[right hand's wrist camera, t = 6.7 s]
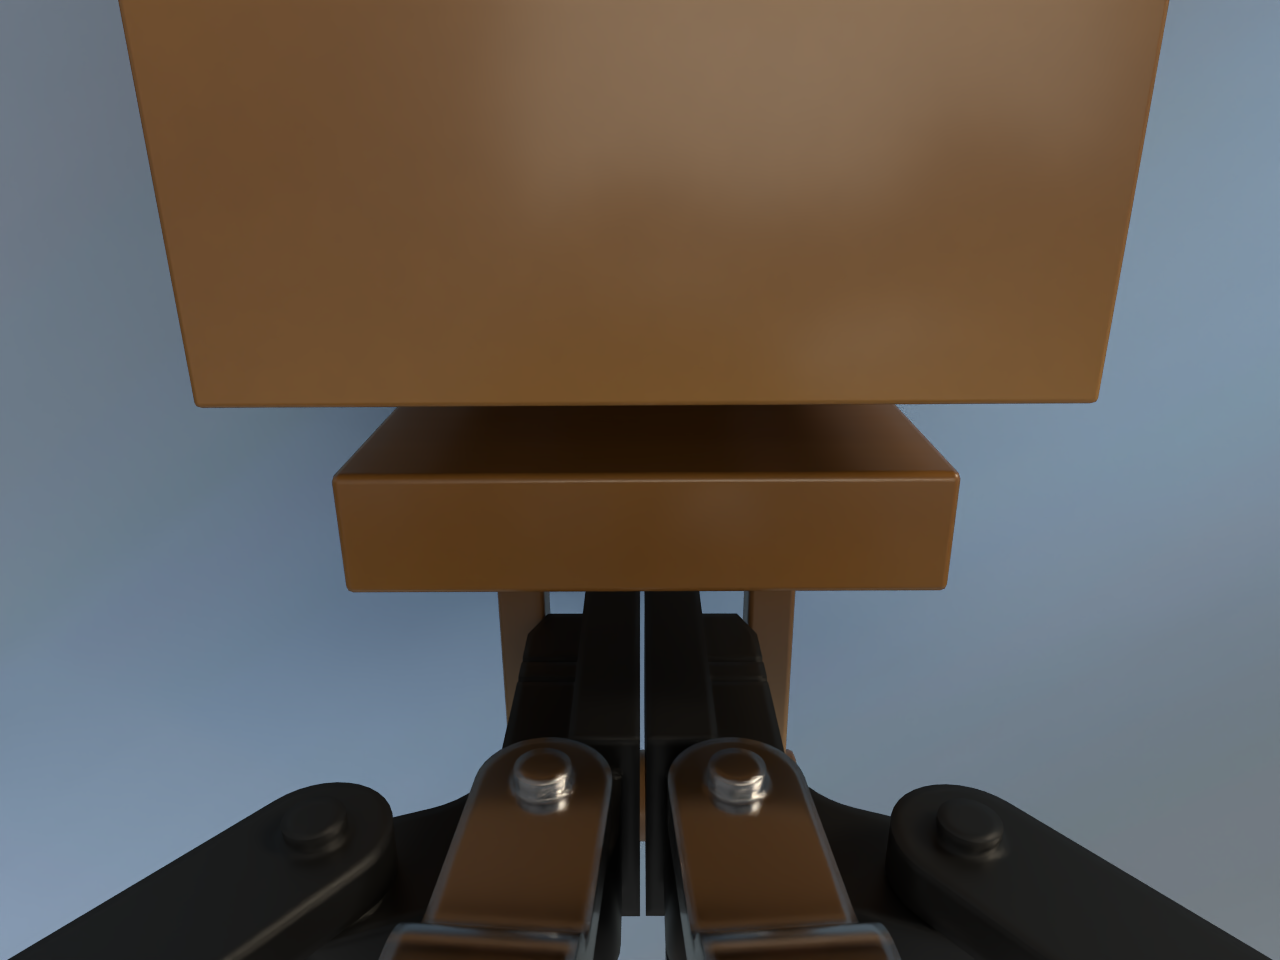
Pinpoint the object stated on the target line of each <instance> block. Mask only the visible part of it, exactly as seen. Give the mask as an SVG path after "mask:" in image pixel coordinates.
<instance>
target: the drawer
mask: <svg viewBox="0 0 1280 960" xmlns="http://www.w3.org/2000/svg"><path fill="white" fill-rule="evenodd" d="M959 485H960V476H959V473H958V472H957V471H956V470H955V469H954V468H953V466H952V465H951V464H950V463H949V462H948V461H947V460H946V459H945V458H944V457H943V456H942V455H941V454H940V453H939V451H938V450H937V449H936V448H935V447H934V446H933V445H932V444H931V443H930V442H929V441H928V440H927V439H926V437H925V436H924V435H923V434H922V433H921V432H920V431H919V430H918V429H917V428H916V427H915V426H914V425H913V424H912V422H911V421H910V420H909V419H908V418H907V417H906V416H905V415H904V414H903V413H902V412H901V411H900V410H899V409H898V407H897V406H896V405H895V404H836V405H648V406H460V407H397V408H396V409H395V410H394V411H393V412H392V413H391V414H390V415H389V416H388V418H387V419H386V420H385V421H384V422H383V423H382V424H381V425H380V426H379V427H378V428H377V429H376V431H375V432H374V433H373V434H372V435H371V436H370V437H369V438H368V439H367V440H366V441H365V442H364V444H363V445H362V446H361V447H360V448H359V449H358V450H357V451H356V452H355V453H354V454H353V455H352V457H351V458H350V459H349V460H348V461H347V462H346V463H345V464H344V465H343V466H342V467H341V468H340V470H339V471H338V472H337V473H336V474H335V475H334V477H333V480H332V486H333V493H334V500H335V508H336V515H337V522H338V529H339V537H340V544H341V551H342V558H343V566H344V573H345V580H346V586H347V588H348V590H349V591H351V592H498V604H499V618H500V632H501V646H502V660H503V674H504V688H505V702H506V716H507V725H508V720H509V716H510V711H511V707H512V703H513V698H514V694H515V689H516V685H517V682H518V676H519V671H520V667H521V662H523V653H524V649H525V644H526V640H527V636H528V633H529V632H530V631H531V630H532V629H533V628H534V627H535V626H536V625H537V624H538V623H539V622H540V621H541V620H542V619H543V618H544V617H545V616H546V615H547V614H550V598H549V592H556V591H744V606H743V620H744V621H745V622H746V623H747V624H748V625H749V626H750V627H751V628H752V629H753V630H754V631H755V632H756V633H757V636H758V640H759V645H760V649H761V653H762V661H763V662H764V666H765V670H766V675H767V682H768V683H769V687H770V692H771V696H772V700H773V705H774V709H775V713H776V717H777V722H778V726H779V730H780V735H781V739H782V743H783V747H784V752H785V754H786V755H788V756H789V757H790V758H791V759H792V760H793V761H794V762H795V763H796V759H795V757H794V754H793V752H792V751H791V750H788V749H786V737H787V721H788V704H789V688H790V671H791V655H792V638H793V621H794V605H795V591H834V590H942V589H945V587H946V585H947V580H948V572H949V564H950V556H951V548H952V540H953V533H954V525H955V517H956V509H957V501H958V493H959ZM796 764H797V763H796ZM640 841H645V750H640Z"/></svg>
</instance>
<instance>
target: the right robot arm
mask: <svg viewBox="0 0 1280 960" xmlns="http://www.w3.org/2000/svg"><path fill="white" fill-rule="evenodd" d="M644 726H645V857H646V916H665V943H666V951H665V960H1272V959H1270V958H1269V957H1267V956H1265V955H1264V954H1262V953H1260V952H1258V951H1257V950H1255V949H1253V948H1252V947H1250V946H1248V945H1247V944H1245V943H1243V942H1242V941H1240V940H1238V939H1237V938H1235V937H1233V936H1232V935H1230V934H1228V933H1227V932H1225V931H1223V930H1222V929H1220V928H1218V927H1217V926H1215V925H1213V924H1211V923H1210V922H1208V921H1206V920H1205V919H1203V918H1201V917H1200V916H1198V915H1196V914H1195V913H1193V912H1191V911H1190V910H1188V909H1186V908H1185V907H1183V906H1181V905H1180V904H1178V903H1176V902H1175V901H1173V900H1171V899H1170V898H1168V897H1166V896H1164V895H1163V894H1161V893H1159V892H1158V891H1156V890H1154V889H1153V888H1151V887H1149V886H1148V885H1146V884H1144V883H1143V882H1141V881H1139V880H1138V879H1136V878H1134V877H1133V876H1131V875H1129V874H1128V873H1126V872H1124V871H1123V870H1121V869H1119V868H1117V867H1116V866H1114V865H1112V864H1111V863H1109V862H1107V861H1106V860H1104V859H1102V858H1101V857H1099V856H1097V855H1096V854H1094V853H1092V852H1091V851H1089V850H1087V849H1086V848H1084V847H1082V846H1081V845H1079V844H1077V843H1076V842H1074V841H1072V840H1070V839H1069V838H1067V837H1065V836H1064V835H1062V834H1060V833H1059V832H1057V831H1055V830H1054V829H1052V828H1050V827H1049V826H1047V825H1045V824H1044V823H1042V822H1040V821H1039V820H1037V819H1035V818H1034V817H1032V816H1030V815H1029V814H1027V813H1025V812H1023V811H1022V810H1020V809H1018V808H1017V807H1015V806H1013V805H1012V804H1010V803H1008V802H1006V801H1005V800H1003V799H1001V798H999V797H997V796H994V795H992V794H989V793H987V792H985V791H981V790H978V789H974V788H970V787H965V786H960V785H948V784H943V785H930V786H925V787H921V788H918V789H915V790H913V791H911V792H909V793H907V794H905V795H904V796H903V797H902V798H901V799H900V800H899V801H898V802H897V803H896V805H895V806H894V808H893V811H892V814H891V816H887V815H883V814H878V813H874V812H870V811H866V810H861V809H857V808H853V807H850V806H846V805H843V804H840V803H838V802H835V801H833V800H830V799H828V798H826V797H824V796H822V795H820V794H818V793H817V792H815V791H814V790H812V789H811V788H810V787H808V785H807V782H806V780H805V777H804V775H803V773H802V771H801V769H800V768H799V766H798V765H797V764H796V763H795V762H794V761H793V760H792V759H791V758H790V757H789V756H788V755H786V754H785V752H784V747H783V743H782V739H781V735H780V730H779V726H778V722H777V717H776V713H775V709H774V705H773V700H772V696H771V692H770V687H769V683H768V682H767V675H766V670H765V666H764V662H763V661H762V653H761V649H760V645H759V640H758V636H757V633H756V632H755V631H754V630H753V629H752V628H751V627H750V626H749V625H748V624H747V623H746V622H745V621H744V620H743V619H742V618H741V617H740V616H739V615H738V614H702V609H701V602H700V594H699V591H645V622H644ZM621 916H640V591H586V592H585V601H584V609H583V614H547V615H546V616H545V617H544V618H543V619H542V620H541V621H540V622H539V623H538V624H537V625H536V626H535V627H534V628H533V629H532V630H531V631H530V632H529V633H528V636H527V640H526V644H525V649H524V653H523V662H521V667H520V671H519V676H518V682H517V685H516V689H515V694H514V698H513V703H512V707H511V711H510V716H509V720H508V725H507V729H506V734H505V738H504V743H503V747H502V749H501V750H500V751H498V752H497V753H495V754H494V755H492V756H491V757H490V758H489V759H488V760H487V761H486V762H485V763H484V764H483V765H482V766H481V768H480V769H479V771H478V773H477V775H476V777H475V780H474V782H473V785H472V788H471V790H470V793H468V794H467V795H465V796H463V797H461V798H459V799H457V800H455V801H452V802H450V803H447V804H445V805H441V806H438V807H434V808H431V809H427V810H422V811H418V812H414V813H410V814H405V815H401V816H397V817H393V815H392V811H391V808H390V805H389V804H388V802H387V801H386V799H385V798H384V797H383V796H382V795H380V794H379V793H378V792H376V791H374V790H373V789H371V788H368V787H365V786H362V785H359V784H353V783H341V782H335V783H323V784H318V785H313V786H309V787H306V788H302V789H299V790H296V791H294V792H291V793H289V794H286V795H285V796H283V797H281V798H279V799H277V800H275V801H273V802H272V803H270V804H268V805H267V806H265V807H263V808H262V809H260V810H258V811H257V812H255V813H253V814H252V815H250V816H248V817H246V818H245V819H243V820H241V821H240V822H238V823H236V824H235V825H233V826H231V827H230V828H228V829H226V830H225V831H223V832H221V833H220V834H218V835H216V836H215V837H213V838H211V839H210V840H208V841H206V842H204V843H203V844H201V845H199V846H198V847H196V848H194V849H193V850H191V851H189V852H188V853H186V854H184V855H183V856H181V857H179V858H178V859H176V860H174V861H173V862H171V863H169V864H168V865H166V866H164V867H163V868H161V869H159V870H157V871H156V872H154V873H152V874H151V875H149V876H147V877H146V878H144V879H142V880H141V881H139V882H137V883H136V884H134V885H132V886H131V887H129V888H127V889H126V890H124V891H122V892H121V893H119V894H117V895H116V896H114V897H112V898H110V899H109V900H107V901H105V902H104V903H102V904H100V905H99V906H97V907H95V908H94V909H92V910H90V911H89V912H87V913H85V914H84V915H82V916H80V917H79V918H77V919H75V920H74V921H72V922H70V923H69V924H67V925H65V926H63V927H62V928H60V929H58V930H57V931H55V932H53V933H52V934H50V935H48V936H47V937H45V938H43V939H42V940H40V941H38V942H37V943H35V944H33V945H32V946H30V947H28V948H27V949H25V950H23V951H22V952H20V953H18V954H16V955H15V956H13V957H11V958H10V959H8V960H618V957H619V954H620V946H621Z"/></svg>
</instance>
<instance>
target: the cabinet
mask: <svg viewBox="0 0 1280 960" xmlns="http://www.w3.org/2000/svg"><path fill="white" fill-rule="evenodd" d="M118 1H119V7H120V12H121V17H122V22H123V28H124V33H125V38H126V43H127V49H128V54H129V59H130V65H131V70H132V75H133V80H134V86H135V91H136V96H137V102H138V107H139V112H140V117H141V123H142V128H143V133H144V138H145V144H146V149H147V154H148V160H149V165H150V170H151V175H152V181H153V186H154V191H155V196H156V202H157V207H158V212H159V218H160V223H161V228H162V233H163V239H164V244H165V249H166V255H167V260H168V265H169V270H170V276H171V281H172V286H173V291H174V297H175V302H176V307H177V313H178V318H179V323H180V328H181V334H182V339H183V344H184V349H185V355H186V360H187V365H188V371H189V376H190V381H191V386H192V392H193V397H194V402H195V404H196V406H198V407H201V408H272V407H460V406H648V405H836V404H1024V403H1092V402H1096V401H1097V399H1098V395H1099V390H1100V384H1101V378H1102V373H1103V367H1104V362H1105V356H1106V350H1107V345H1108V339H1109V334H1110V328H1111V323H1112V317H1113V311H1114V306H1115V300H1116V295H1117V289H1118V284H1119V278H1120V272H1121V267H1122V261H1123V256H1124V250H1125V244H1126V239H1127V233H1128V228H1129V222H1130V217H1131V211H1132V205H1133V200H1134V194H1135V189H1136V183H1137V178H1138V172H1139V166H1140V161H1141V155H1142V150H1143V144H1144V138H1145V133H1146V127H1147V122H1148V116H1149V111H1150V105H1151V99H1152V94H1153V88H1154V83H1155V77H1156V72H1157V66H1158V60H1159V55H1160V49H1161V44H1162V38H1163V32H1164V27H1165V21H1166V16H1167V10H1168V5H1169V0H118Z"/></svg>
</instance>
